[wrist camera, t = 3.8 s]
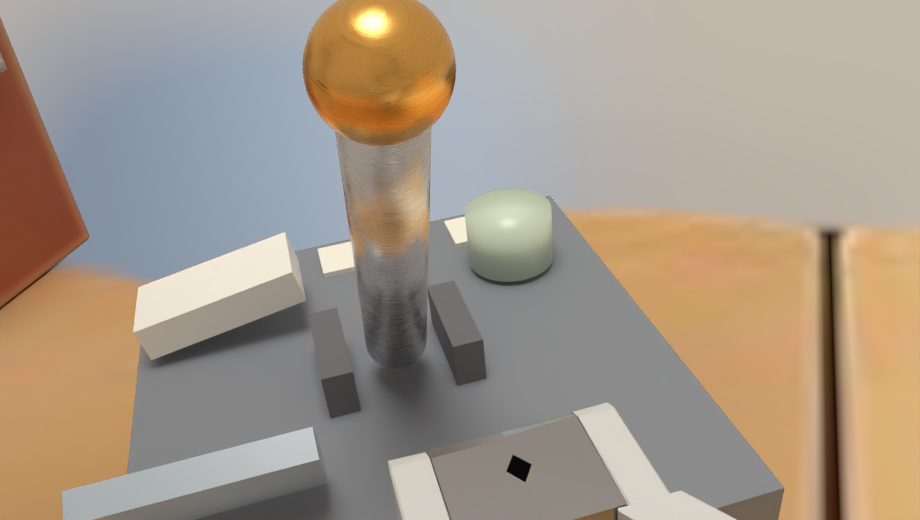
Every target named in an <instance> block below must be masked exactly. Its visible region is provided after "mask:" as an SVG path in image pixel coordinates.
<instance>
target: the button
mask: <svg viewBox="0 0 920 520" xmlns="http://www.w3.org/2000/svg"><path fill="white" fill-rule="evenodd" d="M465 222H466V232H467V242H468V252H469V262H470V266H471V268H472V269H473V270H474V271H475V272H476V273H477V274H479V275H480V276H482V277H484V278H487V279H490V280H494V281H501V282H514V281H522V280H526V279H530V278H532V277H535V276H537V275H539V274H541V273H542V272H544V271H545V270H546V269H547V268H548V267H549V266H550V265H551V263H552V260H553V242H552V210H551V204H550V202H549V200H548V199H547V198H545V197H544V196H543V195H541V194H539V193H536V192H533V191H530V190H525V189H501V190H494V191H490V192H487V193H484V194H482V195H480V196H478V197H476V198H474V199H473V200H472V201H471V202H470V203H469V204H468V205H467V207H466V209H465Z"/></svg>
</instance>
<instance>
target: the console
mask: <svg viewBox="0 0 920 520" xmlns="http://www.w3.org/2000/svg"><path fill="white" fill-rule="evenodd" d="M545 198H547V199H548V200H549V202H550V204H551V210H552V242H553V260H552V263H551V265H550V266H549V267H548V268H547V269H546V270H545V271H544V272H542V273H541V274H539V275H537V276H535V277H532V278H530V279H526V280H522V281H514V282H501V281H494V280H490V279H487V278H484V277H482V276H480V275H479V274H477V273H476V272H475V271H474V270H473V269H472V268H471V266H470V262H469V252H468V242H467V232H466V222H465V214H464V215H460V216H455V217H451V218H446V219H441V220H437V221H432V222H429V256H428V300H427V341H426V347H425V350H424V352H423V354H422V356H421V357H420V359H419V360H418V361H417V362H416V363H415V364H413V365H412V366H410V367H408V368H405V369H402V370H390V369H386V368H384V367H381V366H380V365H379V364H377V363H376V362H375V361H374V360H373V359H372V358H371V356H370V355H369V353H368V351H367V348H366V343H365V336H364V329H363V322H362V315H361V308H360V301H359V294H358V287H357V280H356V273H355V266H354V259H353V252H352V245H351V239H350V240H345V241H340V242H336V243H331V244H327V245H322V246H318V247H313V248H309V249H304V250H299V251H295V254H296V256H297V258H298V262H299V267H300V272H301V277H302V282H303V287H304V292H305V298H306V301H304V302H301V303H299V304H296V305H294V306H291V307H288V308H286V309H283V310H281V311H278V312H275V313H273V314H270V315H268V316H265V317H262V318H260V319H257V320H255V321H252V322H249V323H247V324H244V325H242V326H239V327H236V328H234V329H231V330H229V331H226V332H223V333H221V334H218V335H216V336H213V337H211V338H208V339H205V340H203V341H200V342H198V343H195V344H192V345H190V346H187V347H185V348H182V349H179V350H177V351H174V352H172V353H169V354H166V355H164V356H161V357H159V358H156V359H153V360H151V359H150V357H149V356H148V354H147V353H146V351H145V350H144V348H143V347H142V345H141V346H140V355H139V365H138V375H137V384H136V394H135V404H134V413H133V423H132V432H131V442H130V452H129V461H128V471H127V474H131V473H135V472H139V471H143V470H146V469H150V468H154V467H158V466H162V465H166V464H170V463H174V462H177V461H181V460H185V459H189V458H193V457H197V456H201V455H205V454H208V453H212V452H216V451H220V450H224V449H228V448H232V447H236V446H239V445H243V444H247V443H251V442H255V441H259V440H263V439H267V438H270V437H274V436H278V435H282V434H286V433H290V432H294V431H298V430H301V429H305V428H309V427H313V429H314V432H315V435H316V437H317V440H318V443H319V446H320V448H321V451H322V454H323V459H324V464H325V468H326V473H327V478H328V484H324V485H321V486H317V487H313V488H309V489H306V490H302V491H298V492H295V493H291V494H287V495H284V496H280V497H276V498H273V499H269V500H265V501H262V502H258V503H254V504H251V505H247V506H243V507H239V508H236V509H232V510H228V511H225V512H221V513H217V514H214V515H210V516H206V517H203V518H199V519H195V520H398V515H397V510H396V505H395V500H394V495H393V489H392V484H391V479H390V474H389V469H388V461H390V460H394V459H398V458H402V457H406V456H410V455H414V454H419V453H423V452H426V453H427V451H428V450H432V449H436V448H440V447H444V446H449V445H453V444H457V443H461V442H465V441H469V440H473V439H477V438H482V437H486V436H490V435H494V434H498V433H499V432H502V431H506V430H509V429H513V428H516V427H520V426H523V425H527V424H531V423H534V422H538V421H541V420H545V419H548V418H552V417H555V416H559V415H563V414H566V413H570V414H571V413H572V412H574V411H578V410H581V409H585V408H589V407H592V406H596V405H600V404H603V403H607V402H608V403H609V404H611V405H612V406H614V408H615V409H616V411H617V412H618V414H619V415H620V417H621V418H622V420H623V421H624V423H625V424H626V426H627V428H628V429H629V431H630V432H631V434H632V435H633V437H634V438H635V440H636V441H637V443H638V444H639V446H640V448H641V449H642V451H643V452H644V454H645V455H646V457H647V458H648V460H649V461H650V463H651V464H652V466H653V468H654V469H655V471H656V472H657V474H658V475H659V477H660V478H661V480H662V481H663V483H664V484H665V486H666V488H667V489H668V491H669V492H670V493H673V492H676V491H680V490H681V491H683V492H685V493H687V494H689V495H691V496H693V497H695V498H697V499H699V500H700V501H702V502H704V503H706V504H708V505H710V506H712V507H714V508H716V509H718V510H720V511H721V512H723V513H725V514H727V515H729V516H731V517H733V518H735V519H737V520H778V517H779V512H780V507H781V502H782V497H783V492H784V487H783V486H782V484H781V483H780V482H779V481H778V479H777V478H776V477H775V476H774V474H773V473H772V472H771V471H770V469H769V468H768V467H767V466H766V464H765V463H764V462H763V461H762V459H761V458H760V457H759V456H758V454H757V453H756V452H755V451H754V449H753V448H752V447H751V446H750V444H749V443H748V442H747V441H746V439H745V438H744V437H743V436H742V435H741V433H740V432H739V431H738V430H737V428H736V427H735V426H734V425H733V423H732V422H731V421H730V420H729V418H728V417H727V416H726V415H725V413H724V412H723V411H722V410H721V408H720V407H719V406H718V405H717V403H716V402H715V401H714V400H713V398H712V397H711V396H710V395H709V393H708V392H707V391H706V390H705V388H704V387H703V386H702V385H701V383H700V382H699V381H698V380H697V378H696V377H695V376H694V375H693V374H692V372H691V371H690V370H689V369H688V367H687V366H686V365H685V364H684V362H683V361H682V360H681V359H680V357H679V356H678V355H677V354H676V352H675V351H674V350H673V349H672V347H671V346H670V345H669V344H668V342H667V341H666V340H665V339H664V337H663V336H662V335H661V334H660V332H659V331H658V330H657V329H656V327H655V326H654V325H653V324H652V322H651V321H650V320H649V319H648V317H647V316H646V315H645V314H644V312H643V311H642V310H641V309H640V308H639V306H638V305H637V304H636V303H635V301H634V300H633V299H632V298H631V296H630V295H629V294H628V293H627V291H626V290H625V289H624V288H623V286H622V285H621V284H620V283H619V281H618V280H617V279H616V278H615V276H614V275H613V274H612V273H611V271H610V270H609V269H608V268H607V266H606V265H605V264H604V263H603V261H602V260H601V259H600V258H599V256H598V255H597V254H596V253H595V251H594V250H593V249H592V248H591V247H590V245H589V244H588V243H587V242H586V240H585V239H584V238H583V237H582V235H581V234H580V233H579V232H578V230H577V229H576V228H575V227H574V225H573V224H572V223H571V222H570V220H569V219H568V218H567V217H566V215H565V214H564V213H563V212H562V210H561V209H560V208H559V207H558V205H557V204H556V203H555V202H554V201H553V199H552V198H551V197H550V196H547V197H545ZM148 284H149V283H148Z"/></svg>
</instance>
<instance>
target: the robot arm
mask: <svg viewBox="0 0 920 520" xmlns="http://www.w3.org/2000/svg"><path fill="white" fill-rule="evenodd" d="M388 469H389V474H390V479H391V484H392V489H393V495H394V500H395V505H396V510H397V515H398V520H737V519H735V518H733V517H731V516H729V515H727V514H725V513H723V512H721V511H720V510H718V509H716V508H714V507H712V506H710V505H708V504H706V503H704V502H702V501H700V500H699V499H697V498H695V497H693V496H691V495H689V494H687V493H685V492H683V491H681V490H680V491H676V492H673V493H670V492H669V491H668V489H667V488H666V486H665V484H664V483H663V481H662V480H661V478H660V477H659V475H658V474H657V472H656V471H655V469H654V468H653V466H652V464H651V463H650V461H649V460H648V458H647V457H646V455H645V454H644V452H643V451H642V449H641V448H640V446H639V444H638V443H637V441H636V440H635V438H634V437H633V435H632V434H631V432H630V431H629V429H628V428H627V426H626V424H625V423H624V421H623V420H622V418H621V417H620V415H619V414H618V412H617V411H616V409H615V408H614V406H612V405H611V404H609V403H608V402H607V403H603V404H600V405H596V406H592V407H589V408H585V409H581V410H578V411H574V412H572V413H571V414H570V413H566V414H563V415H559V416H555V417H552V418H548V419H545V420H541V421H538V422H534V423H531V424H527V425H523V426H520V427H516V428H513V429H509V430H506V431H502V432H499V433H498V434H494V435H490V436H486V437H482V438H477V439H473V440H469V441H465V442H461V443H457V444H453V445H449V446H444V447H440V448H436V449H432V450H428V451H427V453H426V452H423V453H419V454H414V455H410V456H406V457H402V458H398V459H394V460H390V461H388Z"/></svg>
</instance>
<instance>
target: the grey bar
mask: <svg viewBox="0 0 920 520" xmlns="http://www.w3.org/2000/svg"><path fill="white" fill-rule="evenodd" d="M324 484H328V478H327V473H326V468H325V464H324V459H323V454H322V451H321V448H320V446H319V443H318V440H317V437H316V435H315V432H314V429H313V427H309V428H305V429H301V430H298V431H294V432H290V433H286V434H282V435H278V436H274V437H270V438H267V439H263V440H259V441H255V442H251V443H247V444H243V445H239V446H236V447H232V448H228V449H224V450H220V451H216V452H212V453H208V454H205V455H201V456H197V457H193V458H189V459H185V460H181V461H177V462H174V463H170V464H166V465H162V466H158V467H154V468H150V469H146V470H143V471H139V472H135V473H131V474H127V475H123V476H119V477H115V478H112V479H108V480H104V481H100V482H96V483H92V484H88V485H84V486H81V487H77V488H73V489H69V490H65V491H62V506H63V520H195V519H199V518H203V517H206V516H210V515H214V514H217V513H221V512H225V511H228V510H232V509H236V508H239V507H243V506H247V505H251V504H254V503H258V502H262V501H265V500H269V499H273V498H276V497H280V496H284V495H287V494H291V493H295V492H298V491H302V490H306V489H309V488H313V487H317V486H321V485H324Z"/></svg>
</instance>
